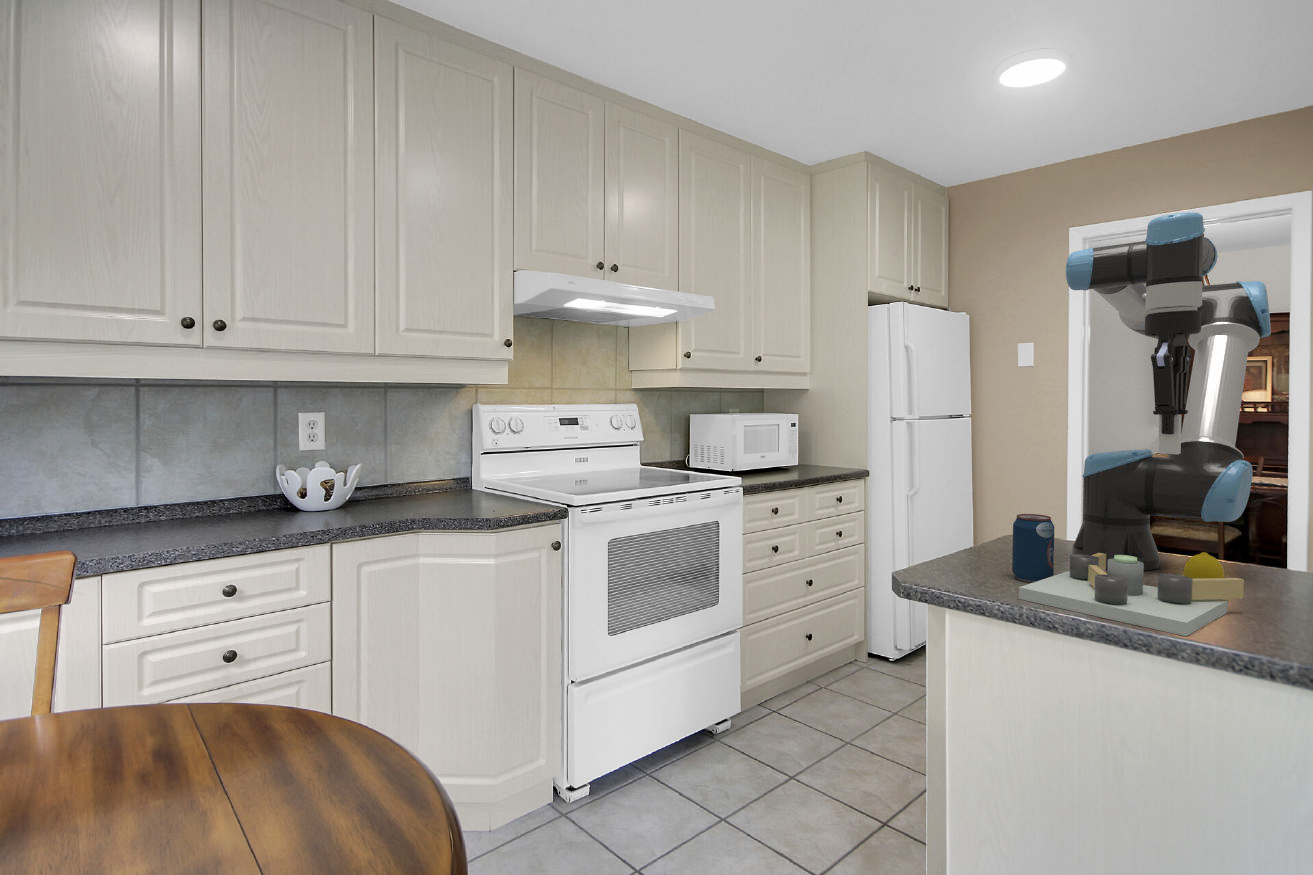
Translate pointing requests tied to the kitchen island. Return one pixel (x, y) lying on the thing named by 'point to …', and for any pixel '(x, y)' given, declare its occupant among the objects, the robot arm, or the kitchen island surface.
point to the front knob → (1108, 586)
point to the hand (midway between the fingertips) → (1169, 453)
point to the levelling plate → (1140, 601)
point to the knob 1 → (1085, 564)
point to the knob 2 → (1198, 588)
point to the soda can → (1033, 547)
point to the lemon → (1203, 567)
